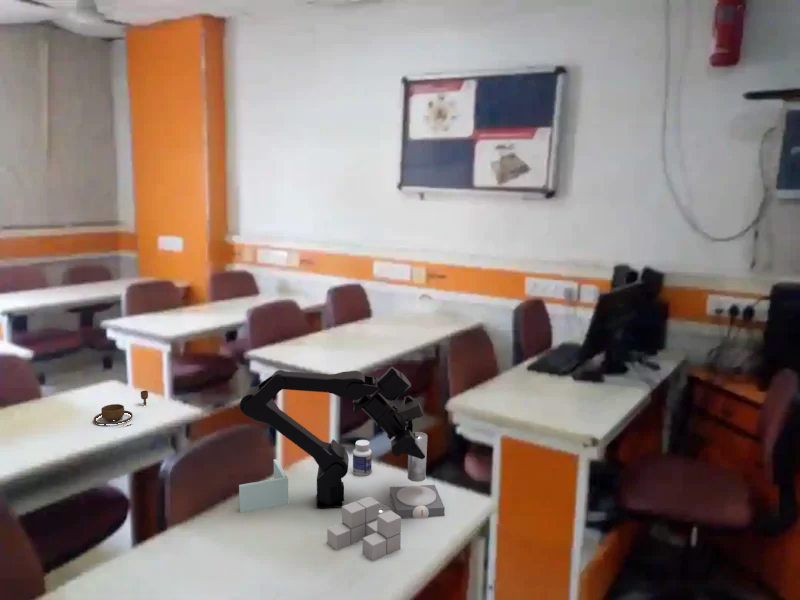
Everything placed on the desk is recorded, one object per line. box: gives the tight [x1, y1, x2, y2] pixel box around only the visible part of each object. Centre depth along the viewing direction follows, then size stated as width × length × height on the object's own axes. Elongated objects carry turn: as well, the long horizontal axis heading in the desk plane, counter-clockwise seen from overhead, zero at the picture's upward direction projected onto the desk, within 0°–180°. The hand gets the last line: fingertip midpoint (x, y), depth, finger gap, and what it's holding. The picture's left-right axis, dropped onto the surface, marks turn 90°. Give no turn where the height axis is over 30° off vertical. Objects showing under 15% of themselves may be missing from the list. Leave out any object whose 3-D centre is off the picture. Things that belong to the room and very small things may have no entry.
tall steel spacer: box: [407, 431, 428, 483], centre depth 165 cm, size 5×5×12 cm
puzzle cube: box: [326, 496, 402, 562], centre depth 146 cm, size 12×12×8 cm
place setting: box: [93, 390, 149, 425], centre depth 219 cm, size 18×20×6 cm
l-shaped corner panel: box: [238, 458, 289, 514], centre depth 167 cm, size 12×12×8 cm
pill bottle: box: [352, 439, 373, 477], centre depth 182 cm, size 5×5×9 cm
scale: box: [389, 484, 446, 519], centre depth 165 cm, size 12×12×4 cm
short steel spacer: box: [379, 503, 390, 515], centre depth 158 cm, size 4×4×3 cm
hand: (423, 453), depth 165 cm, fingers closed on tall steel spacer, 5 cm apart
